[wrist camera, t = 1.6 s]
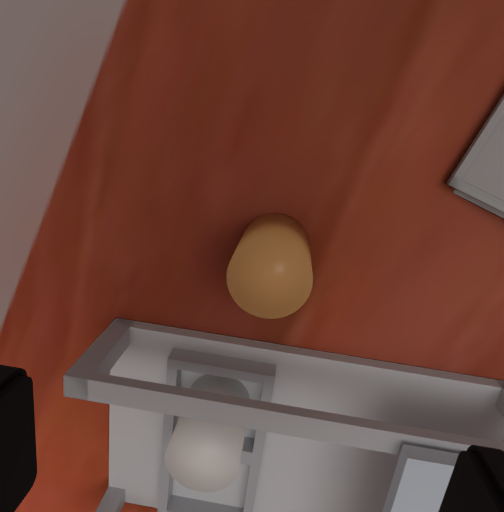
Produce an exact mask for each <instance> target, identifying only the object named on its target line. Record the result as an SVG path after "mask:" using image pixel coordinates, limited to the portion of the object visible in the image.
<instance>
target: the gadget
mask: <svg viewBox="0 0 504 512" xmlns="http://www.w3.org/2000/svg"><path fill="white" fill-rule="evenodd" d="M446 184H447V185H449V186H451V187H453V188H455V190H454V192H453V193H454V194H456V195H458V196H460V197H462V198H464V199H466V200H468V201H470V202H472V203H474V204H476V205H478V206H480V207H482V208H484V209H486V210H488V211H490V212H492V213H494V214H496V215H498V216H500V217H502V218H504V94H503V96H502V97H501V99H500V100H499V102H498V103H497V105H496V107H495V108H494V110H493V111H492V113H491V114H490V116H489V117H488V119H487V121H486V122H485V124H484V125H483V127H482V128H481V130H480V131H479V133H478V134H477V136H476V138H475V139H474V141H473V142H472V144H471V145H470V147H469V148H468V150H467V152H466V153H465V155H464V156H463V158H462V159H461V161H460V162H459V164H458V166H457V167H456V169H455V170H454V172H453V173H452V175H451V176H450V178H449V180H448V181H447V183H446Z"/></svg>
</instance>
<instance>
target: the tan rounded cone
mask: <svg viewBox="0 0 504 512" xmlns="http://www.w3.org/2000/svg"><path fill="white" fill-rule="evenodd" d="M226 279H227V286H228V289H229V292H230V294H231V296H232V298H233V299H234V301H235V302H236V303H237V304H238V305H239V307H241V308H242V309H243V310H244V311H246V312H248V313H249V314H252V315H254V316H257V317H260V318H266V319H276V318H281V317H285V316H288V315H290V314H292V313H294V312H295V311H297V310H298V309H299V308H300V307H302V306H303V304H304V303H305V302H306V301H307V299H308V297H309V295H310V293H311V290H312V285H313V273H312V263H311V254H310V245H309V239H308V236H307V233H306V231H305V229H304V228H303V226H302V225H301V224H300V223H299V222H298V221H297V220H295V219H294V218H292V217H290V216H287V215H285V214H280V213H270V214H265V215H262V216H260V217H258V218H256V219H255V220H253V221H252V222H251V223H250V224H249V225H248V226H247V228H246V229H245V231H244V233H243V235H242V237H241V239H240V241H239V244H238V246H237V248H236V250H235V252H234V254H233V256H232V258H231V260H230V262H229V265H228V269H227V277H226Z"/></svg>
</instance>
